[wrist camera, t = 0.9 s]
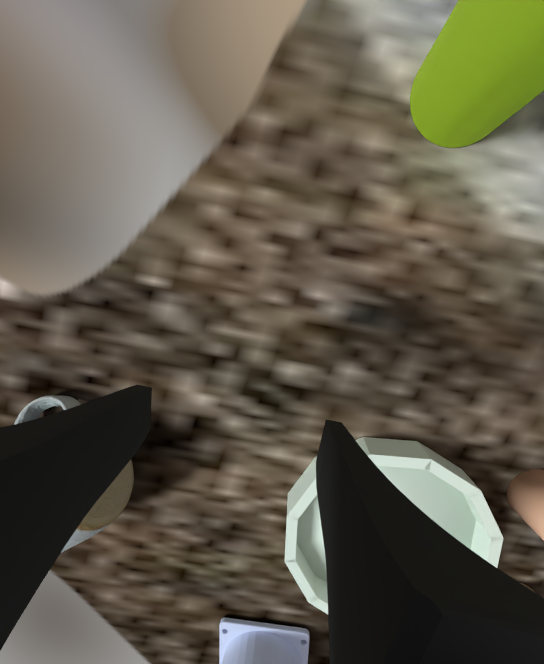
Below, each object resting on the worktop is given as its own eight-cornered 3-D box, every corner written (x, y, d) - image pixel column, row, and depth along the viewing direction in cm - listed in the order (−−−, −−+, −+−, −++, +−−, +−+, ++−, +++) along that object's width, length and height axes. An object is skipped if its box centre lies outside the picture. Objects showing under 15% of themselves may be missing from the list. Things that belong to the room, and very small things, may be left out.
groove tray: (463, 612, 23) (480, 646, 21) (283, 589, 24) (281, 619, 22) (494, 447, 20) (518, 466, 18) (290, 431, 21) (290, 447, 19)
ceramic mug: (156, 478, 23) (87, 569, 16) (83, 514, 25) (-13, 614, 17) (87, 371, 22) (-21, 413, 15) (15, 414, 24) (-118, 473, 16)
